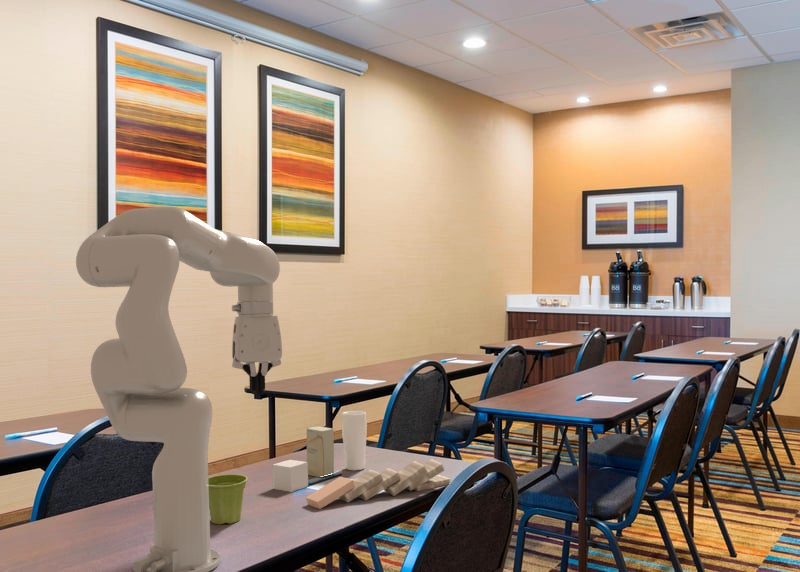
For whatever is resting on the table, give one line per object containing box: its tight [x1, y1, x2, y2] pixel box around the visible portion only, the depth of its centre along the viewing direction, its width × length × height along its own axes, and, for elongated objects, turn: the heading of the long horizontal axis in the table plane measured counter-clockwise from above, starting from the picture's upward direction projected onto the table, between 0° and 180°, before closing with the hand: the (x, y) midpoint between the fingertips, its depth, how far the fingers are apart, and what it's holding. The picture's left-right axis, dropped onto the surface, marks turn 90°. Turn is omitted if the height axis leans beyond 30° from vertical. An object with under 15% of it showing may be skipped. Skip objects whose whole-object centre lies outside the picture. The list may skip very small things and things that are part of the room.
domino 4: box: [383, 460, 427, 497], centre depth 179 cm, size 2×5×10 cm
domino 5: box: [405, 458, 445, 491], centre depth 182 cm, size 2×5×10 cm
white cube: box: [272, 459, 309, 493], centre depth 186 cm, size 6×6×6 cm
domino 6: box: [412, 474, 451, 492], centre depth 184 cm, size 2×5×10 cm
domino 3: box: [357, 467, 401, 502], centre depth 177 cm, size 2×5×10 cm
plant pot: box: [208, 473, 249, 525], centre depth 161 cm, size 9×9×9 cm
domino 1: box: [305, 476, 355, 510], centre depth 171 cm, size 2×5×10 cm
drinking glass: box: [340, 410, 368, 471], centre depth 203 cm, size 7×7×15 cm
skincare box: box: [306, 425, 335, 478], centre depth 197 cm, size 6×4×12 cm
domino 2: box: [338, 469, 383, 503], centre depth 175 cm, size 2×5×10 cm
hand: (257, 393), depth 165 cm, fingers closed
